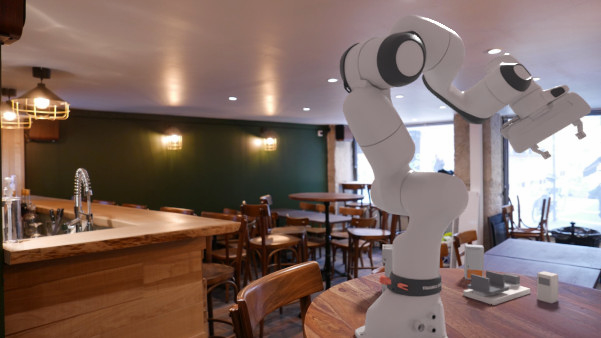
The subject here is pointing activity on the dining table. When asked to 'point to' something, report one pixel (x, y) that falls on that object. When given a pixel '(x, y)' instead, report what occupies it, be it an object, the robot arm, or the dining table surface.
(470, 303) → the dining table surface
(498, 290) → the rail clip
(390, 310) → the robot arm
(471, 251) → the skincare box
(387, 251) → the circuit breaker
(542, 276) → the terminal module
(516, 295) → the board
